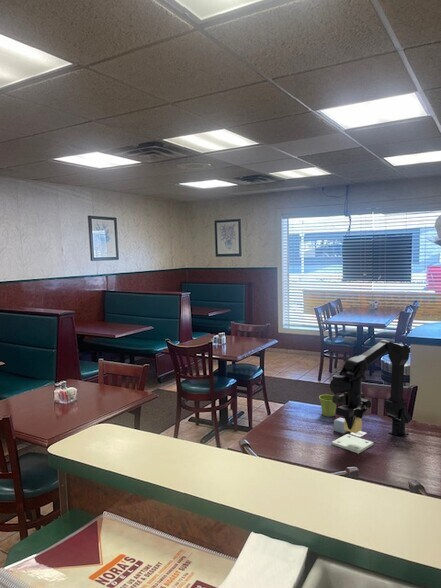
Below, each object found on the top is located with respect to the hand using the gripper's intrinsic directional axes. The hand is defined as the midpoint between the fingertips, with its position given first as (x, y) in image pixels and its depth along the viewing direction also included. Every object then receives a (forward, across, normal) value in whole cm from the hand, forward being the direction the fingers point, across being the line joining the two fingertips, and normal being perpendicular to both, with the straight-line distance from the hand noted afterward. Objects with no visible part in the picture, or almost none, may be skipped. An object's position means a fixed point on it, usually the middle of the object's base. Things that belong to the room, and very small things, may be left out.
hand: (353, 427), depth 179 cm
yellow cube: (+1, 0, 0) cm, 1 cm away
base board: (+7, 0, 0) cm, 7 cm away
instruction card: (+7, -12, -4) cm, 14 cm away
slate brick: (+7, -10, -11) cm, 17 cm away
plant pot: (+7, -23, -26) cm, 35 cm away
